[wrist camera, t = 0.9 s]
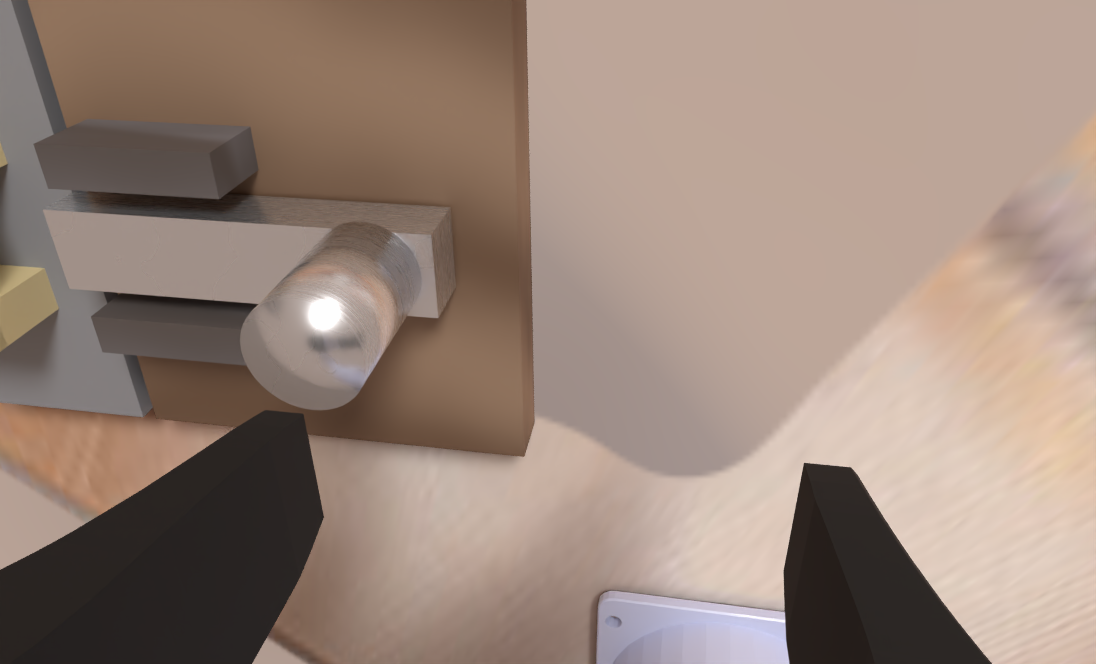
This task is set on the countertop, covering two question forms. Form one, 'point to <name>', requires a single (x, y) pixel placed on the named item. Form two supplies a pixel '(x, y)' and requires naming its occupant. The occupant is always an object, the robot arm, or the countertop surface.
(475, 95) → the door panel
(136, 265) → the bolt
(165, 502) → the robot arm
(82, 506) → the countertop surface
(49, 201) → the jamb keeper
